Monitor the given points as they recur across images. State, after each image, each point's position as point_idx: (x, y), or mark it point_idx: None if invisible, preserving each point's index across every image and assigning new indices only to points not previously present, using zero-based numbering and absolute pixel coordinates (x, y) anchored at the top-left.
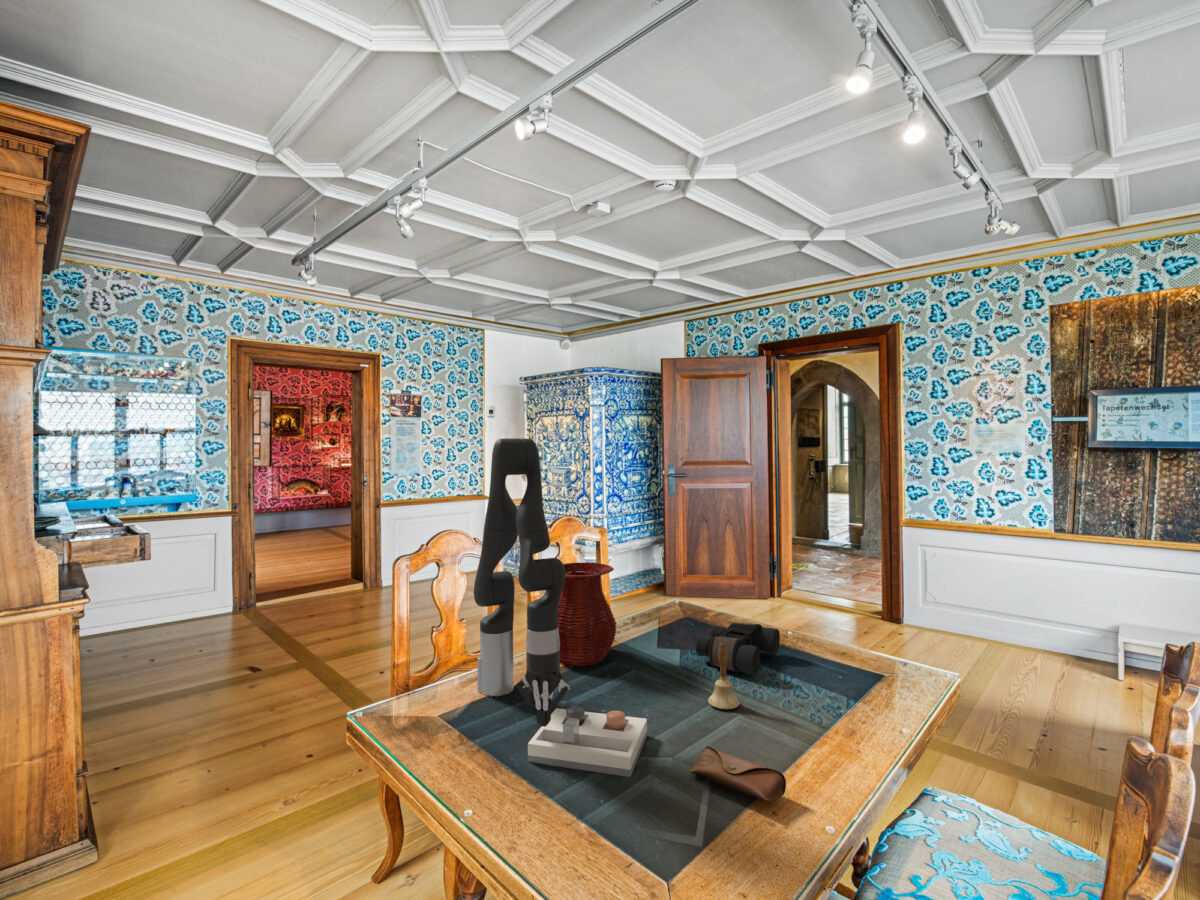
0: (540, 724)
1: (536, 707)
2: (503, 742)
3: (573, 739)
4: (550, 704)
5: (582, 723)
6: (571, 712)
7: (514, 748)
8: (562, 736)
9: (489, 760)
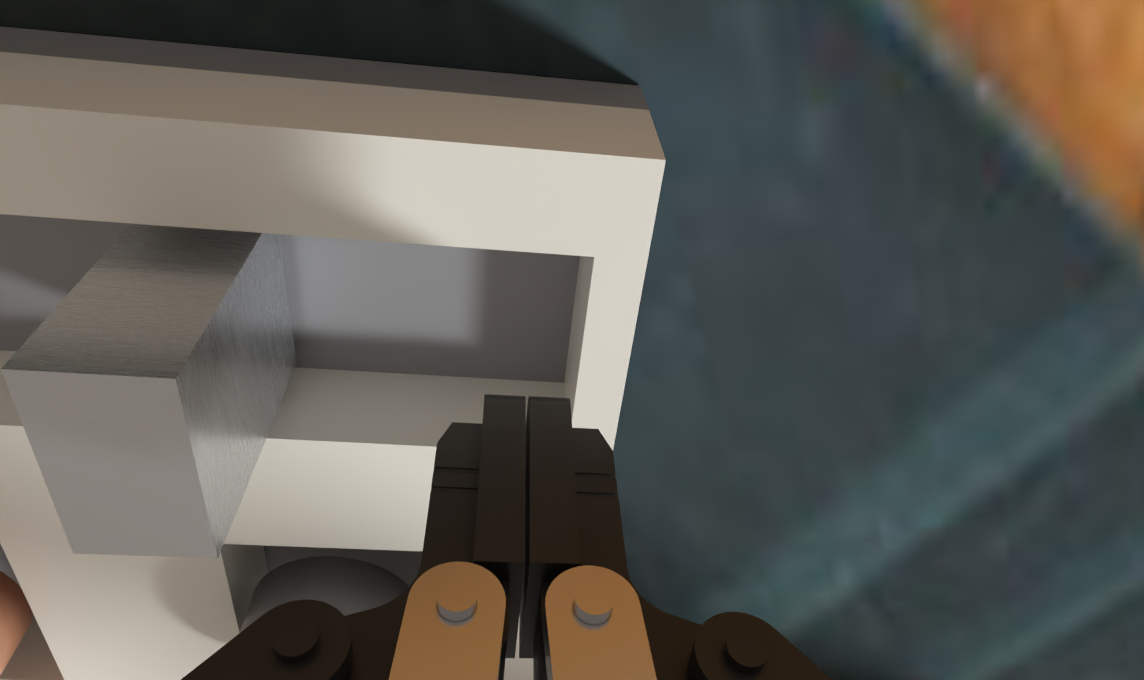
0: (551, 406)
1: (627, 597)
2: (928, 354)
3: (88, 274)
4: (365, 673)
5: (255, 589)
6: None
7: (818, 286)
8: (367, 410)
9: (1045, 53)
